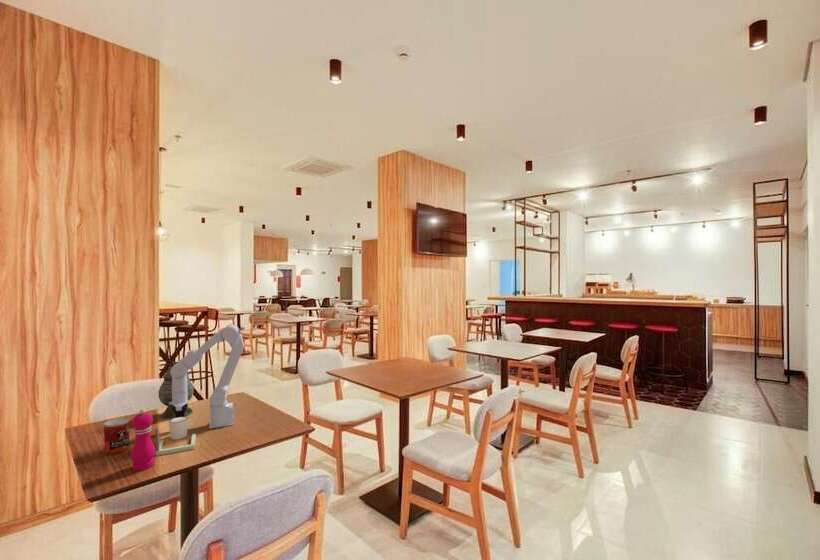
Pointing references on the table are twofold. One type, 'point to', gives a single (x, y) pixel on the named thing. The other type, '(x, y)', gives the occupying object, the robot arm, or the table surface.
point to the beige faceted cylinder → (178, 427)
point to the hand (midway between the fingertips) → (180, 422)
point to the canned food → (116, 435)
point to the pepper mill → (142, 442)
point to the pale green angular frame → (171, 450)
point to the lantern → (166, 395)
